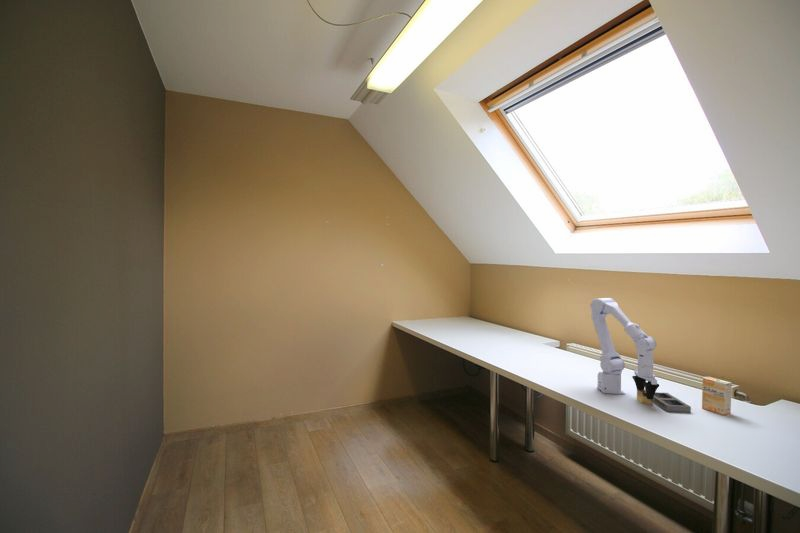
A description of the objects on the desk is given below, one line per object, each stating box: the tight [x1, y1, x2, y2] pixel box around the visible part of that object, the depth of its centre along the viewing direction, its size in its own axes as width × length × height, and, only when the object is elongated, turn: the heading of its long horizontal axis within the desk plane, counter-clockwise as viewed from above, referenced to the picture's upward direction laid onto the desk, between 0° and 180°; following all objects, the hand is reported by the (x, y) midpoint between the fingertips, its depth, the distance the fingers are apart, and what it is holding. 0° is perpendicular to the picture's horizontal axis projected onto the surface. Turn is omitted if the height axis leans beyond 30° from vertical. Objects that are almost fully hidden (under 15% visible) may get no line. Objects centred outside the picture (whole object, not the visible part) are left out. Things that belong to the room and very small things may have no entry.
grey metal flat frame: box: [653, 392, 692, 414], centre depth 162 cm, size 9×16×2 cm, turn 174°
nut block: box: [636, 388, 654, 405], centre depth 165 cm, size 4×4×5 cm
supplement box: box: [701, 376, 733, 416], centre depth 155 cm, size 8×5×13 cm, turn 23°
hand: (645, 395), depth 165 cm, fingers open, 7 cm apart
